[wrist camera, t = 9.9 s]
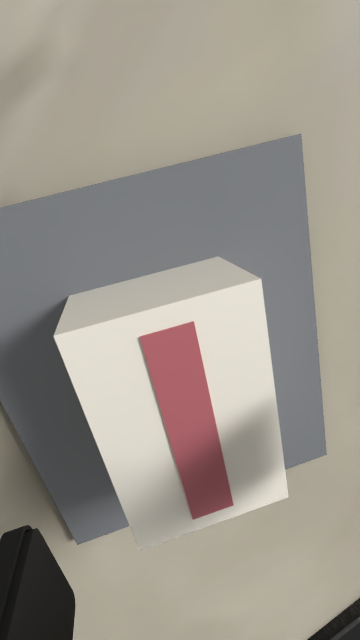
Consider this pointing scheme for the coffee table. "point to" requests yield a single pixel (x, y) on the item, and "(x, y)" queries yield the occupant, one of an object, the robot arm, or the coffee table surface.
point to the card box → (178, 395)
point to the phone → (342, 625)
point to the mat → (140, 260)
